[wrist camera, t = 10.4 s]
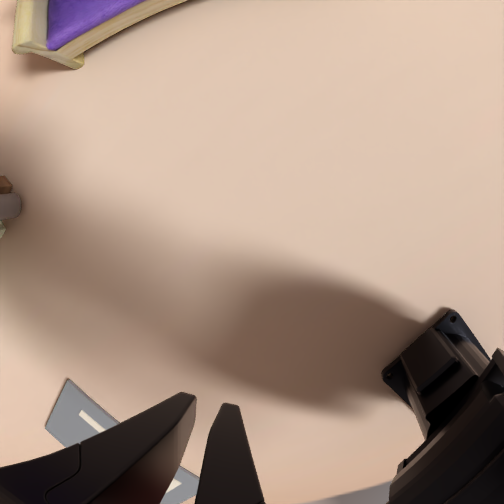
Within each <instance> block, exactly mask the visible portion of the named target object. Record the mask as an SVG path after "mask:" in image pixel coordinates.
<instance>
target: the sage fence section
mask: <svg viewBox="0 0 504 504" xmlns="http://www.w3.org/2000/svg"><path fill="white" fill-rule="evenodd" d="M20 211H21V200H20V197H19V195H18V194H16V193H8V194H0V238H1V237H2V236H3V234H4V232H5V230H6V228H5V226H4V225H3V223H2V220H4V219H10V218H15V217H17V216H18V215H19V214H20Z"/></svg>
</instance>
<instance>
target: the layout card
mask: <svg viewBox="0 0 504 504" xmlns="http://www.w3.org/2000/svg"><path fill="white" fill-rule="evenodd" d="M117 424H119V422H118V421H117V420H115V419H114V418H113V417H112V416H110V415H109V414H108V413H107V412H106V411H104V410H103V409H102V408H101V407H100V406H99V405H97V404H96V403H95V402H94V401H93V400H92V399H91V398H89V397H88V396H87V395H86V394H85V393H84V392H83V391H82V390H81V389H79V388H78V387H77V386H76V385H75V384H74V383H73V382H72V381H71V380H70V379H69V380H67V382H66V384H65V386H64V388H63V390H62V393H61V395H60V397H59V399H58V401H57V403H56V405H55V407H54V409H53V412H52V414H51V416H50V418H49V420H48V423H47V425H46V427H45V429H46V430H47V431H48V432H49V433H50V434H51V435H52V436H53V437H55V438H56V439H57V440H58V441H59V442H60V443H61V444H62V445H64V446H65V447H66V448H67V447H69V446H71V445H74V444H76V443H79V444H80V442H81V441H83V440H85V439H87V438H90V437H92V436H94V435H96V434H98V433H100V432H103V431H105V430H107V429H109V428H111V427H113V426H115V425H117ZM199 479H200V478H199V477H197V476H196V475H194V474H192V473H191V472H189V471H187V470H186V469H184V468H183V467H181V466H179V468H178V470H177V472H176V474H175V477H174V478H173V480H172V482H171V484H170V486H169V488H168V490H167V491H166V493H165V495H164V497H163V499H162V501H161V502H160V504H180V503H182V502H184V501H186V500H187V499H189V498H191V497H193V496H195V495H196V494H197V489H198V484H199Z"/></svg>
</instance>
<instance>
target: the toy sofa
mask: <svg viewBox="0 0 504 504" xmlns="http://www.w3.org/2000/svg"><path fill="white" fill-rule="evenodd" d="M185 1H187V0H17V6H16V14H15V22H14V31H13V43H12V51H13V52H14V53H15V54H27V53H30V52H32V53H34V54H37V55H40V56H43V57H46V58H48V59H51V60H53V61H56V62H58V63H61V64H63V65H65V66H68V67H70V68H72V69H79V68H81V67H82V66H83V65H84V54H83V52H84V51H86V50H87V49H89V48H91V47H92V46H94V45H96V44H97V43H99V42H101V41H103V40H104V39H106V38H108V37H110V36H112V35H113V34H115V33H117V32H119V31H121V30H123V29H124V28H127V27H129V26H131V25H133V24H135V23H137V22H139V21H141V20H143V19H145V18H147V17H149V16H151V15H153V14H156V13H158V12H160V11H162V10H165V9H167V8H170V7H172V6H174V5H177V4H180V3H182V2H185Z"/></svg>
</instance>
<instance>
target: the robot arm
mask: <svg viewBox="0 0 504 504" xmlns="http://www.w3.org/2000/svg"><path fill="white" fill-rule="evenodd" d="M452 316H454V318H453V320H451V321H450V318H451V317H452ZM389 373H392V374H391V375H390V376H387V374H389ZM381 375H382V379H383V380H384V382H385V383H386V384H387V385H389V386H390V387H391V388H392V389H393V390H394V391H395V392H396V393H397V394H398V395H399V396H400V397H401V398H402V399H403V400H404V401H405V402H406V403H407V404H408V405H409V406H410V407H412V408H413V411H414V413H415V416H416V418H417V421H418V423H419V426H420V428H421V431H422V433H423V436H424V439H425V442H424V443H423V444H422V445H421V446H420V447H419V448H418V449H417V450H416V451H415V452H414V453H413V454H412V455H411V456H409V457H408V458H407V459H404V460H403V461H402V462H401V463H400V464H399V465H398V469H397V475H396V476H395V477H394V479H393V481H392V483H391V485H390V492H389V501H388V502H387V503H386V504H504V351H503V350H501V349H499V348H497V349H496V351H495V352H494V354H493V355H492V360H490V358H489V357H488V355H487V353H486V352H485V350H484V349H483V348H482V346H481V345H480V343H479V342H478V340H477V339H476V337H475V336H474V334H473V333H472V332H471V330H470V329H469V327H468V326H467V324H466V323H465V322H464V320H463V319H462V318H461V316H460V315H459V314H458V313H457V312H456V311H455V310H449V311H448V312H447V313H446V314H445V315H444V316H443V317H442V318H441V319H440V320H439V321H438V322H437V323H436V324H435V325H434V326H432V327H431V328H430V329H428V330H427V331H426V332H425V333H424V334H423V335H421V336H420V337H419V338H418V339H417V340H416V341H415V342H414V343H413V344H412V345H410V346H409V347H408V348H407V349H406V350H405V351H404V352H402V353H401V355H400V356H399V357H398V358H397V359H396V360H395V361H393V362H392V363H391V364H390V365H389V366H387V367H386V368H385V369H384V370H383V371H382V373H381ZM196 402H197V399H196V396H195V395H192V394H188V393H185V392H180V393H178V394H176V395H174V396H172V397H170V398H168V399H166V400H165V401H163V402H161V403H159V404H157V405H155V406H153V407H151V408H149V409H147V410H145V411H143V412H141V413H139V414H138V415H136V416H134V417H132V418H130V419H127V420H125V421H123V422H121V423H119V424H117V425H115V426H113V427H111V428H109V429H107V430H105V431H103V432H100V433H98V434H96V435H94V436H92V437H90V438H87V439H85V440H83V441H81V442H80V444H79V443H76V444H74V445H71V446H69V447H67V448H64V449H62V450H59V451H57V452H54V453H51V454H49V455H46V456H42V457H39V458H36V459H32V460H29V461H25V462H21V463H17V464H13V465H9V466H4V467H0V504H160V502H161V501H162V499H163V497H164V495H165V493H166V491H167V490H168V488H169V486H170V484H171V482H172V480H173V478H174V477H175V474H176V472H177V470H178V468H179V465H180V463H181V460H182V457H183V455H184V452H185V449H186V446H187V443H188V441H189V438H190V435H191V432H192V429H193V427H194V423H195V417H196ZM195 504H266V503H265V502H264V497H263V493H262V490H261V486H260V483H259V479H258V476H257V472H256V469H255V465H254V461H253V458H252V454H251V450H250V447H249V443H248V439H247V435H246V431H245V428H244V424H243V420H242V416H241V412H240V408H239V406H238V405H234V404H229V403H223V404H222V406H221V408H220V410H219V412H218V414H217V416H216V418H215V420H214V423H213V425H212V427H211V429H210V432H209V435H208V439H207V444H206V449H205V454H204V459H203V464H202V469H201V474H200V479H199V484H198V489H197V494H196V499H195Z"/></svg>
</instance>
